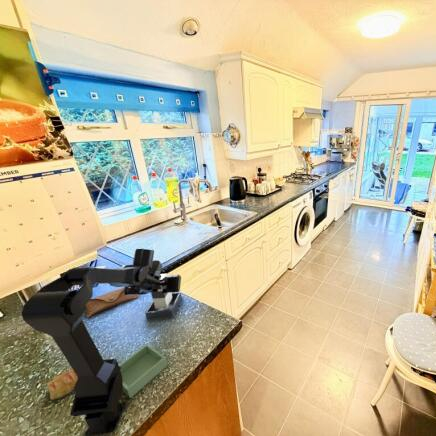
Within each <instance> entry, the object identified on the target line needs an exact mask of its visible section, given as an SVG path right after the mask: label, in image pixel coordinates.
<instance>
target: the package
mask: <svg viewBox="0 0 436 436" xmlns="http://www.w3.org/2000/svg"><path fill="white" fill-rule="evenodd" d="M160 275H161V279H163V278H164V277H168V276H169V275H168V273H160ZM161 279H160V280H161ZM161 283H162V282H161ZM160 287H161V286H160ZM162 291H163V287H162V289H158V292H152V293H150V294H151V298H152V301H154V305H155V309H157V308H167V307H168V305H169V303H170V301H171V300H172V293H162Z"/></svg>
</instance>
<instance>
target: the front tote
mask: <svg viewBox="0 0 436 436" xmlns="http://www.w3.org/2000/svg"><path fill="white" fill-rule="evenodd" d="M118 365H119V366H120V367H121V369H120V371H121V374H122V379H123V393H124V394H125V395H126V396H127V397H128V398H129V399H132V398H133V397H134V396H135V395H136V394H137V393H138V392H139V391H141V389H142V388H144V387H145V386H146V385H147V384H148V383H149V382H151V381H152V380H153V379H154V378H155V377H156V376H157V375H159V373H161V371H163V370H164V369H165V368H166V367H167V366H168V361H167V357H165V356H164V355H163V354H162V353H160V352H159V351H157V349H155V348H154V347H153V346H151V345H150V344H148V343H146V344H144V346H142V347H141V348H140V349H138V350H137V351H136V352H134V353H133V354H131V355H130V356H129V357H127V359H125V360H124V361H122V362H121V363H120V364H118Z"/></svg>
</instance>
